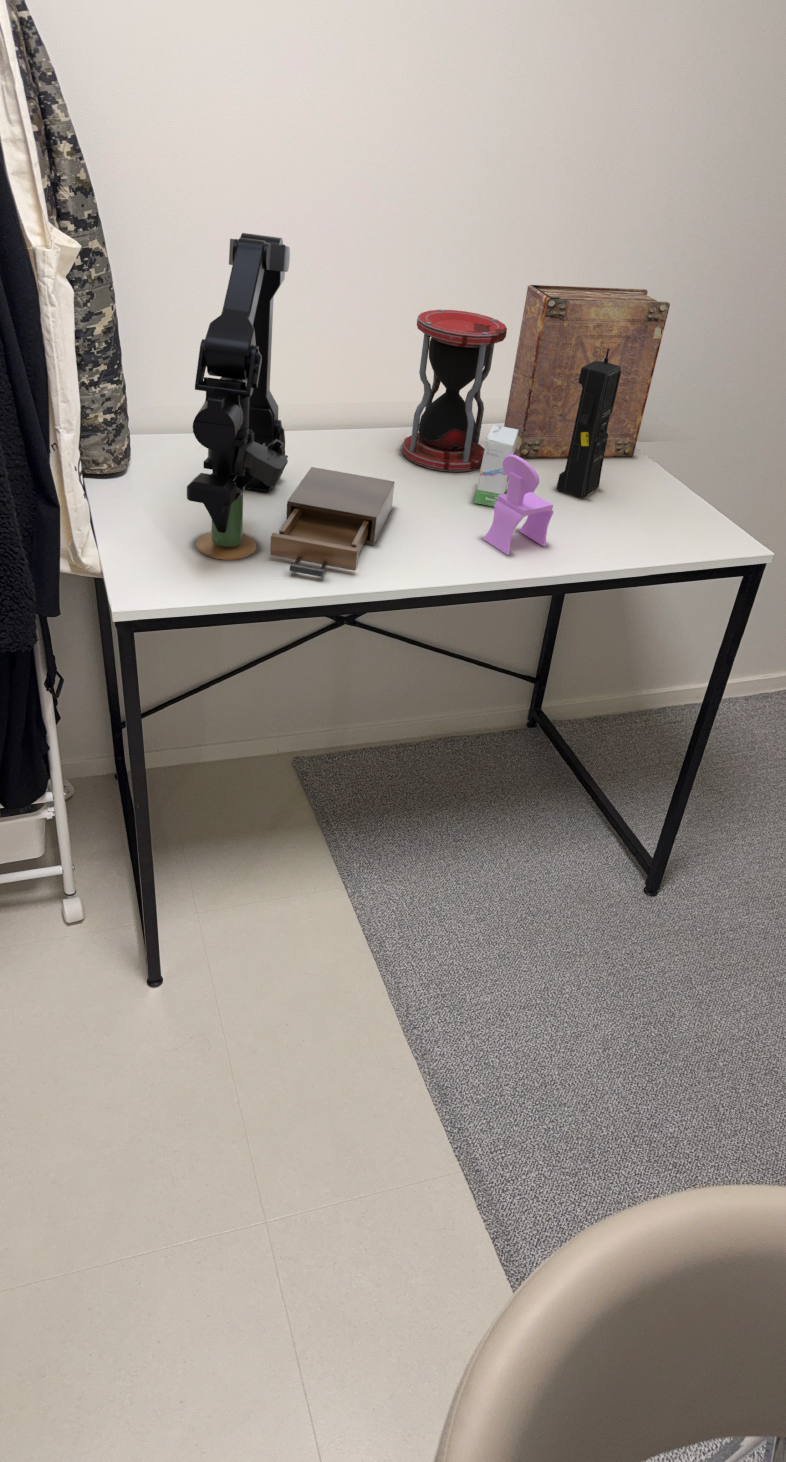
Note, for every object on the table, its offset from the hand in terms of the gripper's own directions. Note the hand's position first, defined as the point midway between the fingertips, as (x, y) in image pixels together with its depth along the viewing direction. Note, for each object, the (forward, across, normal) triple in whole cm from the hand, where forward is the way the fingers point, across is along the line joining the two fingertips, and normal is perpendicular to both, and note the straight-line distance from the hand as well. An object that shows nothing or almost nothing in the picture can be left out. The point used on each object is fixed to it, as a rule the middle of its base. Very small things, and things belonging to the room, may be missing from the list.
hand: (226, 525), depth 158 cm
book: (+4, +68, -49) cm, 84 cm away
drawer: (+3, +3, -14) cm, 15 cm away
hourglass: (+4, +53, -26) cm, 59 cm away
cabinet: (+4, +17, -14) cm, 22 cm away
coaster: (+3, 0, 0) cm, 3 cm away
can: (+2, 0, 0) cm, 2 cm away
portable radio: (+4, +47, -52) cm, 70 cm away
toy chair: (+4, +20, -43) cm, 48 cm away
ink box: (+4, +37, -37) cm, 52 cm away
